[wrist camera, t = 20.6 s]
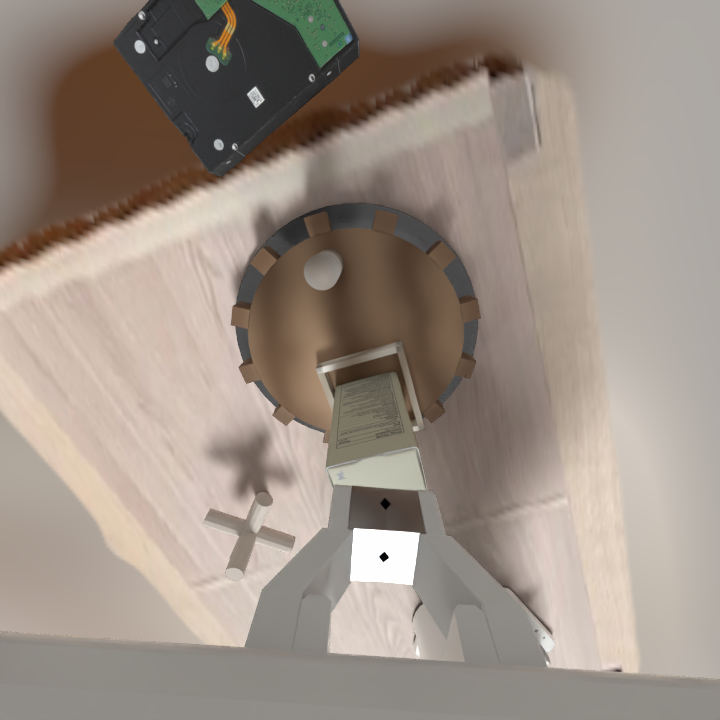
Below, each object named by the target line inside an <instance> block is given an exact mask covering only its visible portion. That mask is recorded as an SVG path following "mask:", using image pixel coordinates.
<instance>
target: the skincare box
mask: <svg viewBox="0 0 720 720" xmlns="http://www.w3.org/2000/svg"><path fill="white" fill-rule="evenodd" d="M326 472H327V474H328V477H329V480H330V483H331V486H332V488H334V485H335V484H338V485H349V486H351V488H352V485H353V486H364V487H376V488H389V489H407V490H428V489H427V483H426V478H425V473H424V468H423V464H422V460H421V456H420V452H419V448H418V445H417V441H416V438H415V435H414V431H413V428H412V424H411V421H410V418H409V414H408V411H407V407H406V404H405V400H404V397H403V393H402V390H401V386H400V383H399V380H398V376H397V373H396V372H389V373H384V374H380V375H376V376H372V377H368V378H364V379H360V380H357V381H353V382H349V383H346V384H342V385H339V386H337V387H336V390H335V398H334V405H333V413H332V421H331V429H330V438H329V445H328V453H327V461H326Z"/></svg>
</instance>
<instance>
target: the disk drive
mask: <svg viewBox="0 0 720 720" xmlns="http://www.w3.org/2000/svg"><path fill="white" fill-rule="evenodd" d="M113 43H114V45H115V47H116V48H117V50H118V51H119V52H120V54H121V55H122V57H123V58H124V59H125V61H126V62H127V63H128V64H129V65H130V67H131V69H132V70H133V71H134V72H135V73H136V75H137V76H138V78H139V79H140V80H141V82H142V83H143V84H144V85H145V87H146V88H147V90H148V91H149V93H150V94H151V95H152V96H153V98H154V99H155V100H156V102H157V103H158V105H159V106H160V107H161V109H162V110H163V111H164V113H165V114H166V116H167V117H168V118H169V120H170V121H171V122H173V124H174V125H175V126H176V127H177V128H178V129H179V131H180V132H181V133H182V134H183V135H184V136H185V137H186V138H188V142H189V143H190V146H191V149H192V150H193V151H194V153H195V154H196V155H197V157H198V158H199V159H200V161H201V162H202V163H203V165H204V166H205V167H206V169H207V170H208V172H210V173H212V174H215V175H218V176H220V177H222V176H223V175H224V174H225V173H227V172H228V171H229V170H230V169H231V168H233V167H235V166H236V165H237V164H238V163H239V162H241V161H242V160H243V159H244V158H245V156H246V155H247V154H248V153H249V152H250V151H251V150H253V149H254V148H255V147H256V146H257V145H258V144H259V143H261V142H262V141H263V140H264V139H265V138H266V137H267V136H268V135H269V134H271V133H272V132H273V131H274V130H275V129H276V128H278V127H279V126H280V125H281V124H283V123H285V122H286V121H287V120H288V119H289V118H290V117H291V116H292V115H293V114H295V113H296V112H297V111H298V110H299V109H301V108H302V107H303V106H304V105H305V104H306V103H307V102H309V101H310V100H311V99H312V98H313V97H315V95H317V94H318V93H319V92H320V91H321V90H322V89H324V88H325V87H326V86H327V85H328V84H329V83H331V82H332V81H333V80H334V79H335V78H336V77H337V76H338V75H340V74H341V73H342V72H343V71H344V70H345V69H346V68H347V67H348V66H350V64H352V63H353V62H354V61H355V60H356V59H357V58H359V38H358V36H357V34H356V32H355V30H354V28H353V26H352V25H351V23H350V21H349V19H348V17H347V15H346V13H345V11H344V10H343V8H342V6H341V4H340V2H339V0H149V1H148V2H147V3H146V5H145V6H144V7H143V8H142V9H141V10H140V12H138V13H137V14H136V15H135V16H134V17H133V18H132V19H131V20H130V21H129V23H127V25H126V26H125V27H124V29H123V30H122V31H121V33H120V34H119V36H118V37H117V38H116V39H115V40H114V41H113Z"/></svg>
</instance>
